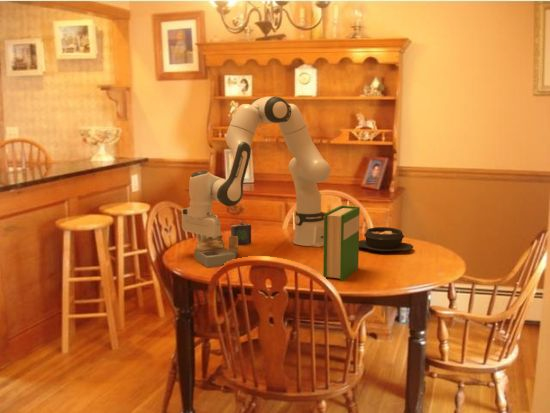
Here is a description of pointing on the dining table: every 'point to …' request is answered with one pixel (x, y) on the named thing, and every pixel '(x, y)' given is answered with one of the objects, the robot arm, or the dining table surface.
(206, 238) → the ceramic model
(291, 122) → the robot arm
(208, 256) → the grey recessed block
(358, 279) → the dining table surface
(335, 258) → the hardback book
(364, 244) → the casserole
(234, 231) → the flask
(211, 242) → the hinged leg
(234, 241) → the loose leg
